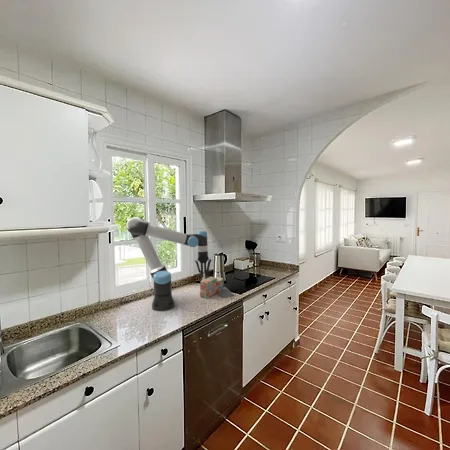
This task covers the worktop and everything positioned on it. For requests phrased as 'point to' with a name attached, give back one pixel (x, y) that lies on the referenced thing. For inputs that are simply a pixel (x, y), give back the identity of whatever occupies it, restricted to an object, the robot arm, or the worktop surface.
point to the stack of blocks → (211, 286)
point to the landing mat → (225, 293)
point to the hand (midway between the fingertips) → (203, 281)
